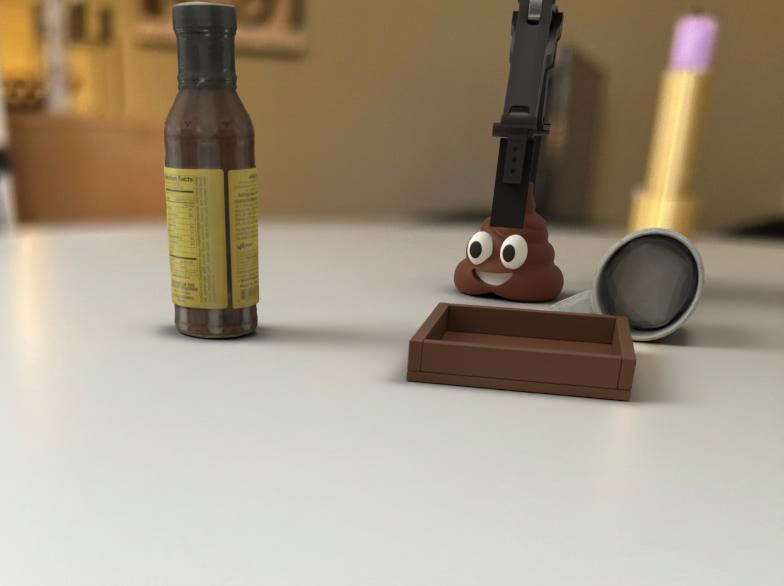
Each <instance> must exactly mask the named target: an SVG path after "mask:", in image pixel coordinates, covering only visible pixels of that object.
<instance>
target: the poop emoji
mask: <svg viewBox="0 0 784 586" xmlns="http://www.w3.org/2000/svg"><path fill="white" fill-rule="evenodd" d="M533 187H534V184H533V183H532V182H530V184H529V191H528V198H527V206H526V213H525V220H524V228H523V229H516V228H502V227H490V219H491V215H490V216H488V217H486V219H484V221H483V222H482V223H481V225H480V229H479V231H477V232H475V233H473V234H472V236H471V237H470V238H469V239H468V241H467V244H466V248H465V258H463V259H462V260H461V261H460V262H459V263H458V264H457V265H456V267H455V270H454V272H453V283H454V286H455V288H456V290H458V291H459V292H461V293H463V294H465V295H466V294H467V295H482V294H483V295H484V294H489V293H493V294H495V295H497V296H499V297H502V298H504V299H508V300H511V301H517V302H526V303H527V302H529V303H531V302H532V303H533V302H535V303H536V302H544V301H550V300H553V299H555V298H556V297H558V296H559V295H560V294H561V292H562V291H563V288H564V284H565V283H564V282H565V279H564V278H565V277H564V274H563V271H562V269H561V268H560V267H559V266H558V265H556V263H555V258H556V253H555V252H556V251H555V247H554V246H553V245H552V243H550V241H549V232H548V224H547V222H546V220H545V219H544V217H542V216H541V215H539V214H538V213H537V211H536V206H537V205H536V201H535V198H534V197H533Z"/></svg>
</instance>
